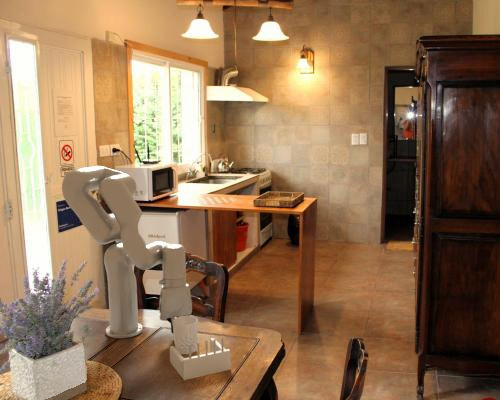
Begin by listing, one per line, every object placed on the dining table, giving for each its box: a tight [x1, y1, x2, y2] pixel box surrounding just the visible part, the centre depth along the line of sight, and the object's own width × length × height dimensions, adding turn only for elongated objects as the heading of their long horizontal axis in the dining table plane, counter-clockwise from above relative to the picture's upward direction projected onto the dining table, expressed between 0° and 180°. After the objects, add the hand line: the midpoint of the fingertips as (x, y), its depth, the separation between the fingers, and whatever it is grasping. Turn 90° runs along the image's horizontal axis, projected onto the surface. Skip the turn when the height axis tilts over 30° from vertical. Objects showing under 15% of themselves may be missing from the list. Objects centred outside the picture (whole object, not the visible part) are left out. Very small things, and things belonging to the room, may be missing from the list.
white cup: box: [172, 315, 199, 355], centre depth 173 cm, size 8×8×10 cm
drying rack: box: [169, 337, 232, 381], centre depth 162 cm, size 13×14×10 cm
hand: (176, 334), depth 182 cm, fingers closed
